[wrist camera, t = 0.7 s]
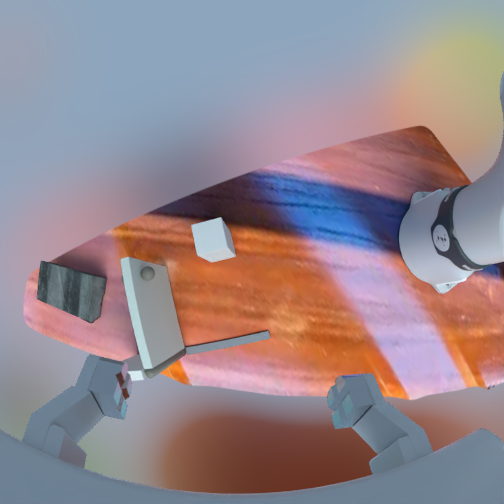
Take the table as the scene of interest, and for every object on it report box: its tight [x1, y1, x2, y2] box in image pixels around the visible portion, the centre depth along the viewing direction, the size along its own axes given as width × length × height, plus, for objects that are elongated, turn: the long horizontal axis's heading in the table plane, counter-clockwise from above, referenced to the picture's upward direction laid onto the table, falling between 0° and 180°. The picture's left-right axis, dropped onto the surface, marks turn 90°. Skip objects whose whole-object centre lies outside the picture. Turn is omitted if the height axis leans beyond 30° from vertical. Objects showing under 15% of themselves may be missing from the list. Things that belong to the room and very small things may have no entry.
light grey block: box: [191, 217, 236, 262], centre depth 39 cm, size 4×4×9 cm
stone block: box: [37, 261, 107, 323], centre depth 42 cm, size 9×14×5 cm, turn 80°
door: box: [120, 257, 186, 378], centre depth 36 cm, size 15×5×13 cm, turn 13°
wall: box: [121, 331, 270, 381], centre depth 35 cm, size 23×1×14 cm, turn 103°
